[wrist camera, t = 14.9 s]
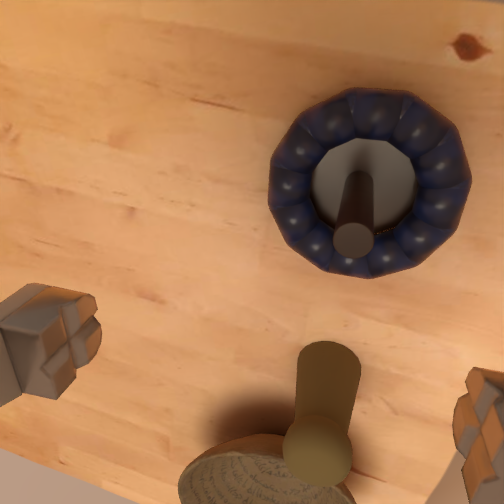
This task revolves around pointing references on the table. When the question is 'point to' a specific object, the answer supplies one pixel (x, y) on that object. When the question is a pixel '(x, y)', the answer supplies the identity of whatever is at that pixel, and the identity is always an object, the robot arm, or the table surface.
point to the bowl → (251, 476)
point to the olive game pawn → (322, 414)
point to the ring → (383, 129)
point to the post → (362, 192)
